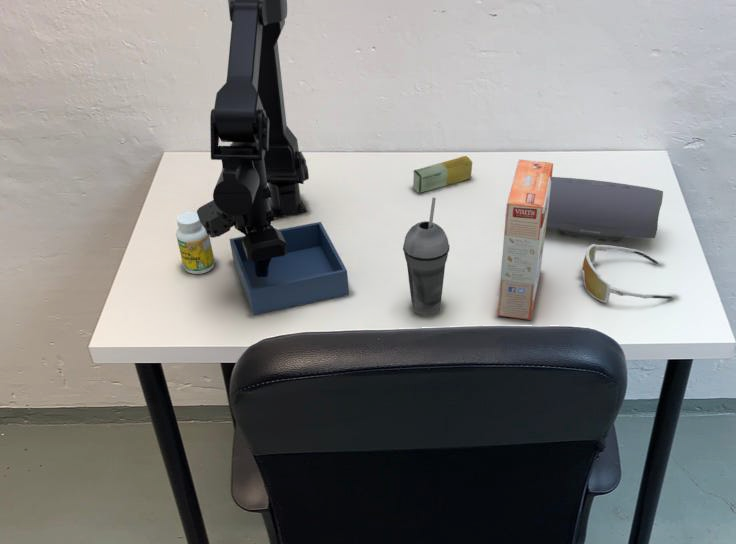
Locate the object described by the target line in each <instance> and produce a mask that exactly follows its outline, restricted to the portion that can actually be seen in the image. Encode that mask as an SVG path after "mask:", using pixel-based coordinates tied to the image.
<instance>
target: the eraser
mask: <svg viewBox="0 0 736 544" xmlns="http://www.w3.org/2000/svg"><path fill="white" fill-rule="evenodd" d="M254 266H255V273H256V276H257V277H267V276H268V273H269V266H268V269H267V271H264V272H260V270H259V267H258V265H257V262H256V261H255V262H254Z"/></svg>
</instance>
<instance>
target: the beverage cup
mask: <svg viewBox="0 0 736 544" xmlns="http://www.w3.org/2000/svg"><path fill="white" fill-rule="evenodd" d="M436 200H437V198H436V197H432V199H431V205H430V212H429V213H430V214H429V220H427V221H425V220H424V221H420V222H417V223H416V224H414V225H412V227H410V228H409V230H408V231H407V232H406V234H405V236H404V241H403V245H402V250H403V255H404V259H405V261H406V267H407V268H406V269H407V277H408V284H409V293H410V301H411V305H412V310H413V312H414V313H415V314H417V315H419V316H422V317H432V316H434V315H437V314H438V313H439V312H440V310H441V303H442V299H443V298H442V297H443V290H444V289H443V287H444V279H445V272H446V271H445V270H446V263H447V260H448V256H449V252H450V243H449V237H448V236H447V234H446V232H445V230H444V229H443V228H442V227H441V226H440V225H439V224H437V223H435V222H433V221H434V215H435V208H436Z"/></svg>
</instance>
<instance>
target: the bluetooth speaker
mask: <svg viewBox="0 0 736 544" xmlns="http://www.w3.org/2000/svg"><path fill="white" fill-rule="evenodd" d="M663 196H664V191H663V190H660V189H656V188H651V187H646V186H639V185H633V184H626V183H620V182H612V181H605V180H604V181H603V180H595V179H587V178H586V179H585V178H574V177H563V176H561V177H560V176H552V180H551V190H550V198H549V207H548V216H547V224H546V228H550V229H555V230H561V233H562V234H565V235H569V236H574V237H579V238H587V239H596V240H606V241H607V240H608V241H616V240H618V239H619V238H632V239H633V238H634V239H655V238H656V236H657V232H658V225H659V223H658V222H659V216H660V210H661V208H662V203H663V198H664V197H663Z"/></svg>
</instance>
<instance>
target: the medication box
mask: <svg viewBox="0 0 736 544" xmlns="http://www.w3.org/2000/svg"><path fill="white" fill-rule="evenodd" d="M472 170H473V160H471V158H469V156H467V155H463V156H460V157H456V158H453V159H450V160H446V161H443V162H438V163H435V164H432V165H427V166H425V167H424V166H423V167H420V168H417V169H414V170H413V171H412V173H413V183H412V188H413V190H414V191H415V192H416V193H417V194H419V195H420V194H421V193H424V192H427V191H431V190H435V189H438V188H442V187H445V186H449V185H452V184H455V183H460V182H463V181H466V180H470V179H472Z"/></svg>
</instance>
